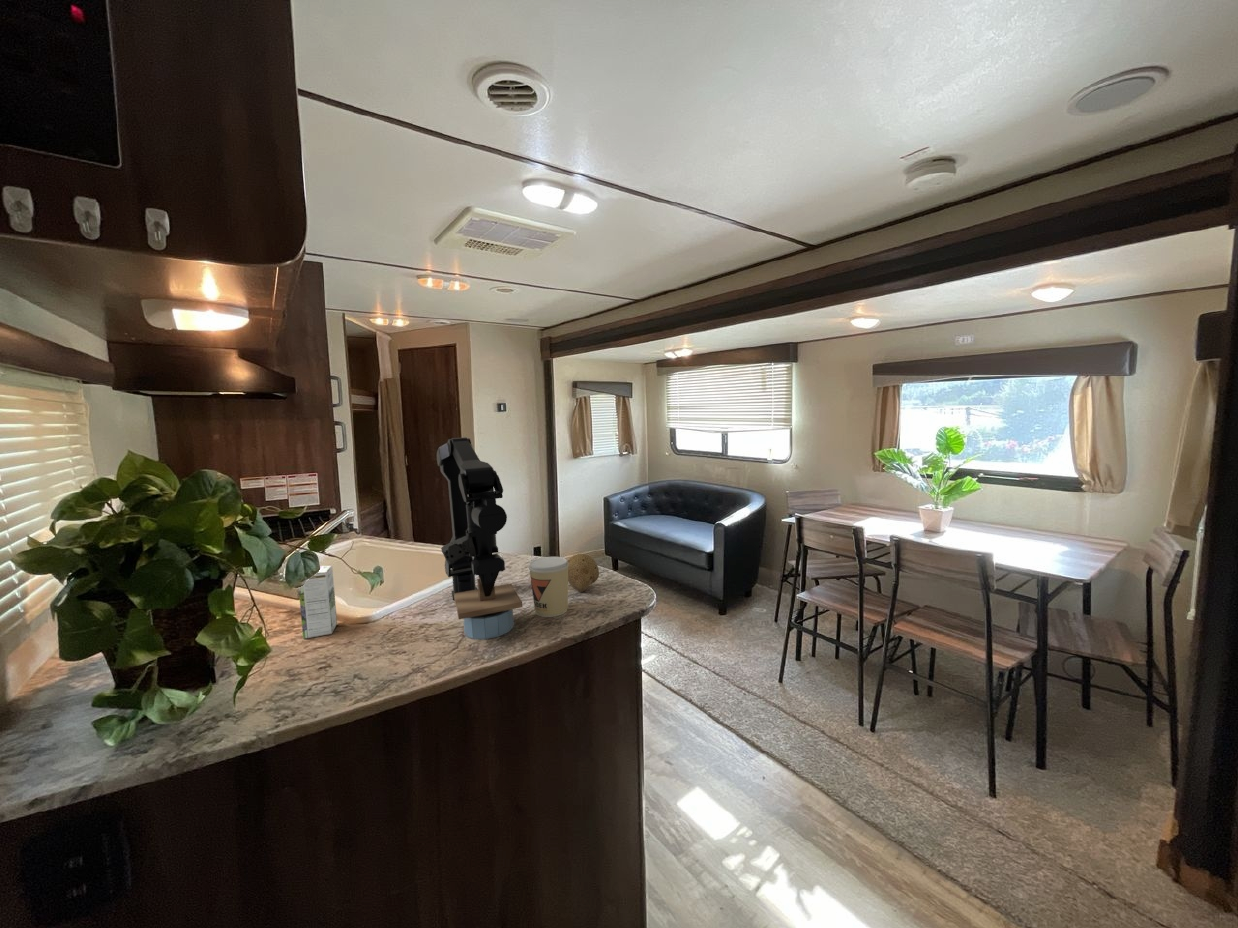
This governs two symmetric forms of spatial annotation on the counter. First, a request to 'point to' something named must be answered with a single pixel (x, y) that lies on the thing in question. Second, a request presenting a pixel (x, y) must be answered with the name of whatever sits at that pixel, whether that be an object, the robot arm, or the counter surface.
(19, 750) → the counter surface
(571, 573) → the natural sponge
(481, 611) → the cover board
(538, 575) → the coffee cup
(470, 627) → the bowl
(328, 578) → the syrup box
